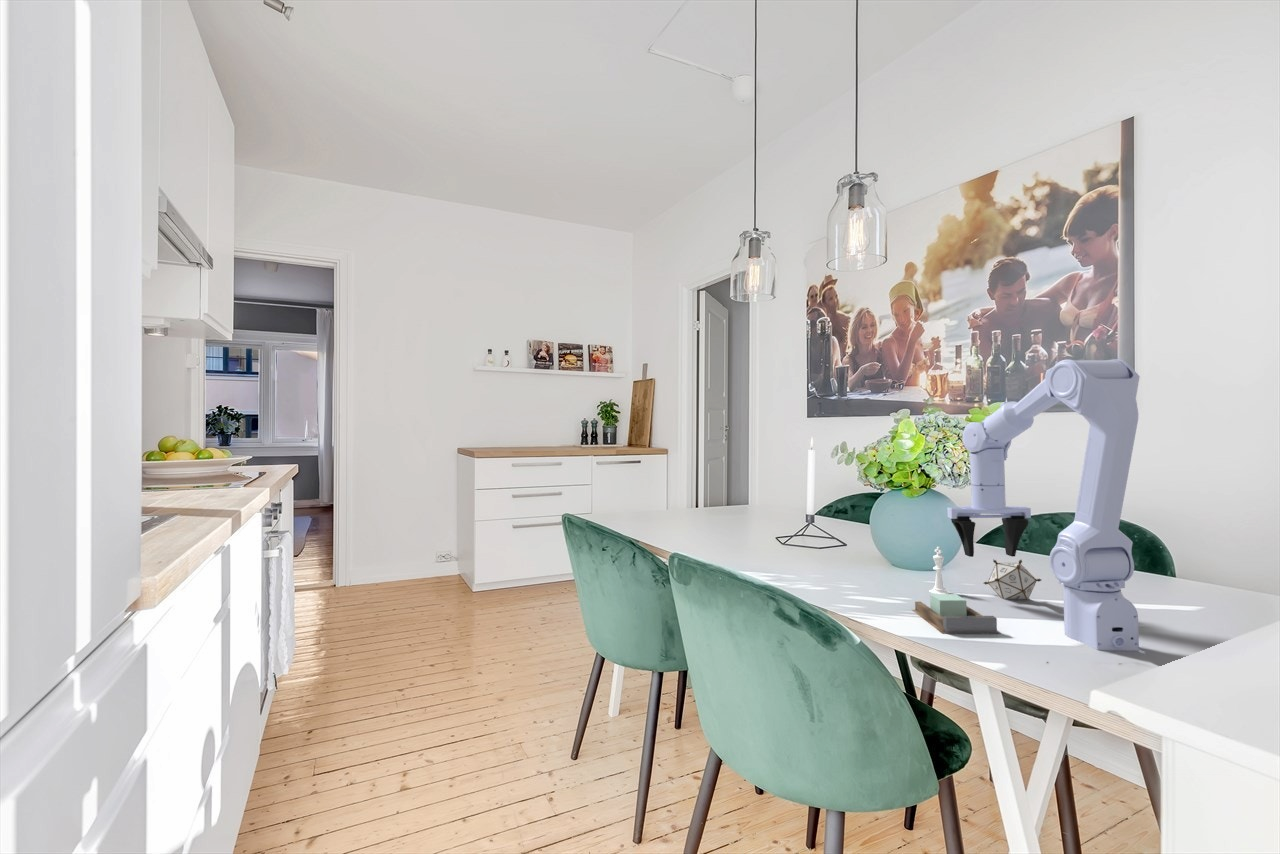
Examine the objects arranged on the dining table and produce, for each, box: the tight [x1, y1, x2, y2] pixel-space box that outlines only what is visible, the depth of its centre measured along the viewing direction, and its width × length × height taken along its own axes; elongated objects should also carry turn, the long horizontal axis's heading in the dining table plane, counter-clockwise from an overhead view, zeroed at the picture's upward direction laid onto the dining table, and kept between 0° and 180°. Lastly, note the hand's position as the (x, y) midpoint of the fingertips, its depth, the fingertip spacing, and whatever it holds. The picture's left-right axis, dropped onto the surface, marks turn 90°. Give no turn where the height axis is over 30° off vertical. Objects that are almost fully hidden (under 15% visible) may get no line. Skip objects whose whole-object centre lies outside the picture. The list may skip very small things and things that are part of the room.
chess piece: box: [928, 546, 951, 594], centre depth 122 cm, size 5×5×10 cm
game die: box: [983, 559, 1042, 600], centre depth 117 cm, size 9×8×10 cm
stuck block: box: [929, 593, 967, 617], centre depth 105 cm, size 4×4×4 cm
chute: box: [911, 601, 1001, 635], centre depth 103 cm, size 13×9×4 cm
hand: (989, 555), depth 117 cm, fingers open, 7 cm apart
